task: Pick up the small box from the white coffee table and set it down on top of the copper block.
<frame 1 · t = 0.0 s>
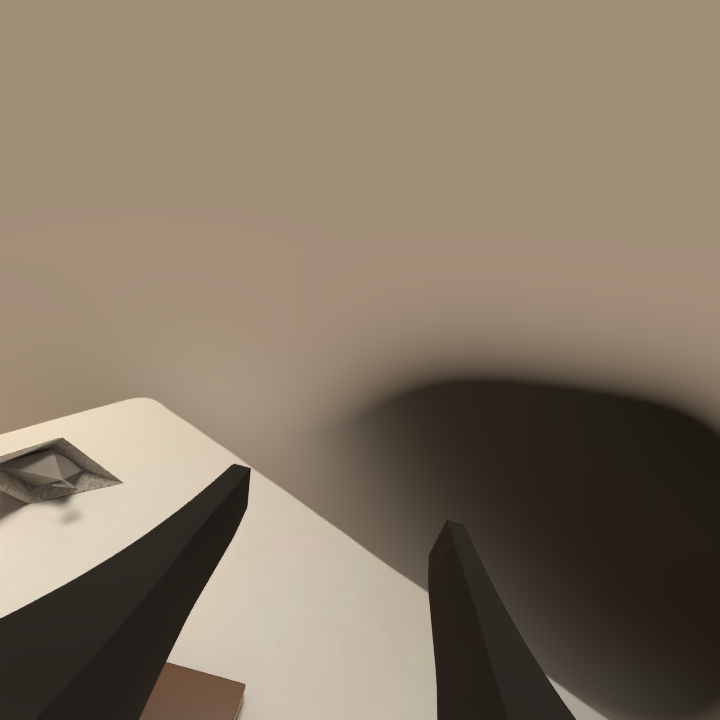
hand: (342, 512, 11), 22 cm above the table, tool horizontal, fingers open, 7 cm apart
paper boat: (48, 500, 32), on the table
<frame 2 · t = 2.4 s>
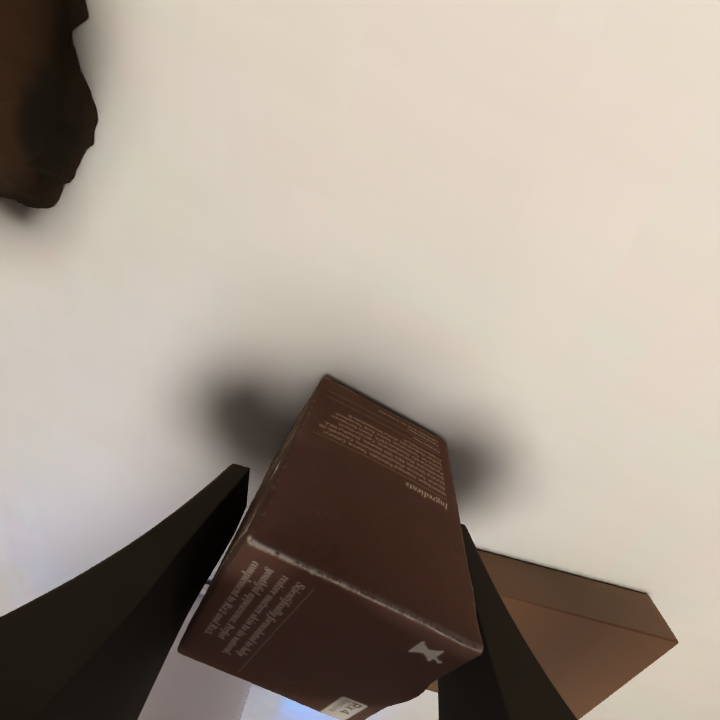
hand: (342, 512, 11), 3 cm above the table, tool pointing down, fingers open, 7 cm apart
box: (354, 450, 15), on the table, touching gripper
copper block: (508, 620, 18), on the table
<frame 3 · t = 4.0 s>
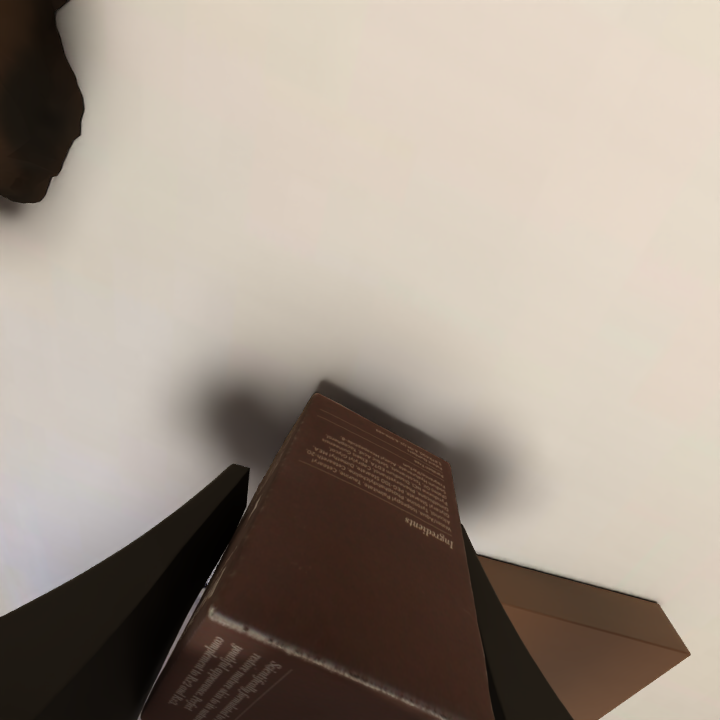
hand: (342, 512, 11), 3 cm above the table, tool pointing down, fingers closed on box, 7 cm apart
box: (350, 469, 13), point 1 cm above the table, touching gripper
copper block: (513, 627, 18), on the table
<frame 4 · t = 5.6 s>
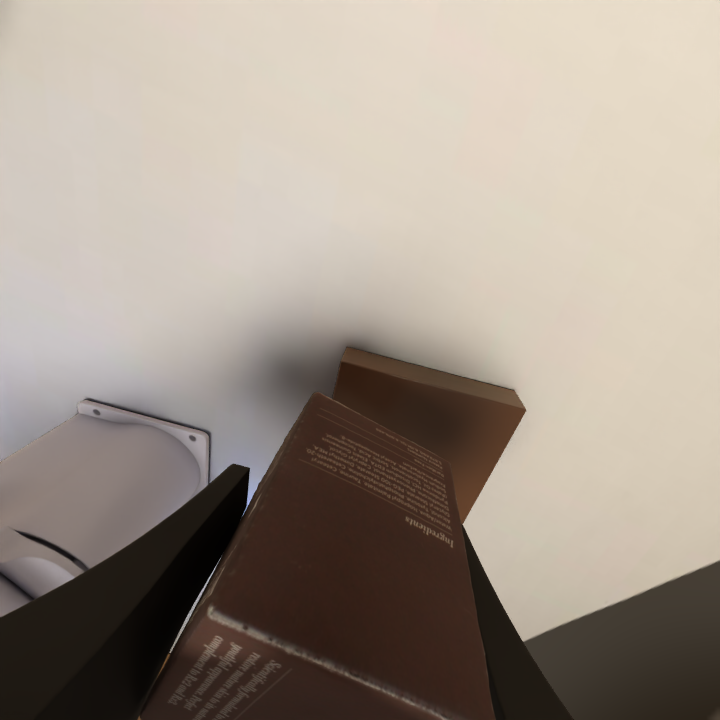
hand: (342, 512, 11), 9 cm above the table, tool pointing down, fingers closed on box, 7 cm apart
box: (350, 469, 13), point 7 cm above the table, touching gripper
copper block: (405, 435, 21), on the table
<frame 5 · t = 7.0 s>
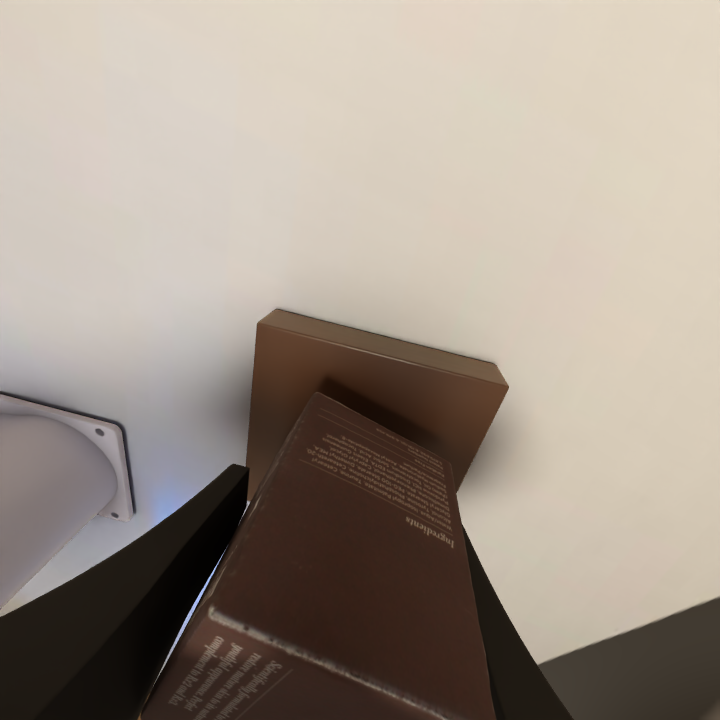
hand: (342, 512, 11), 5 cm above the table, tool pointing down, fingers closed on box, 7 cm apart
box: (350, 469, 13), point 3 cm above the table, touching gripper
copper block: (360, 425, 16), on the table
when the fingers open (4 cm above the table, at t = 8.2 s): box stays where it is, resting on copper block.
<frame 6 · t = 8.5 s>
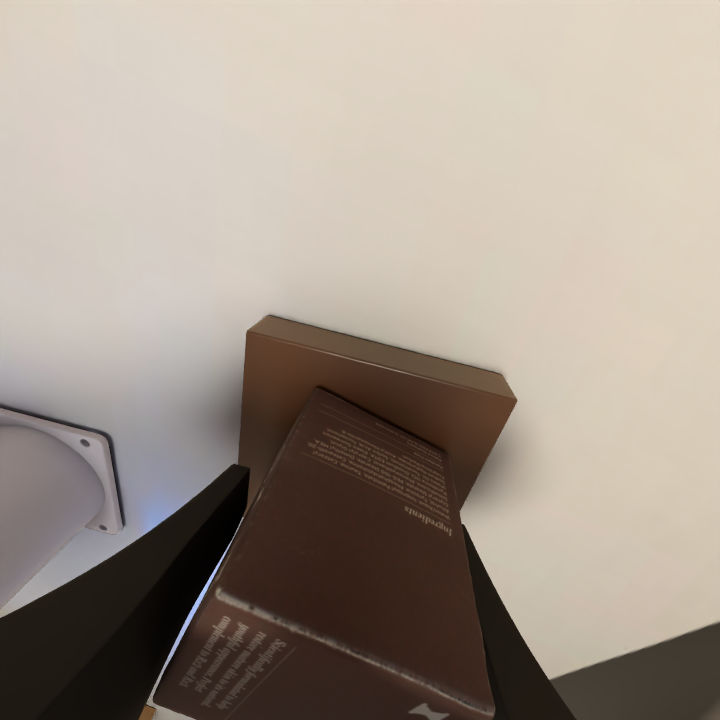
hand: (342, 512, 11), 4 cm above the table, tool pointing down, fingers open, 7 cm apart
box: (351, 463, 14), point 2 cm above the table, touching gripper, copper block
copper block: (358, 437, 15), on the table
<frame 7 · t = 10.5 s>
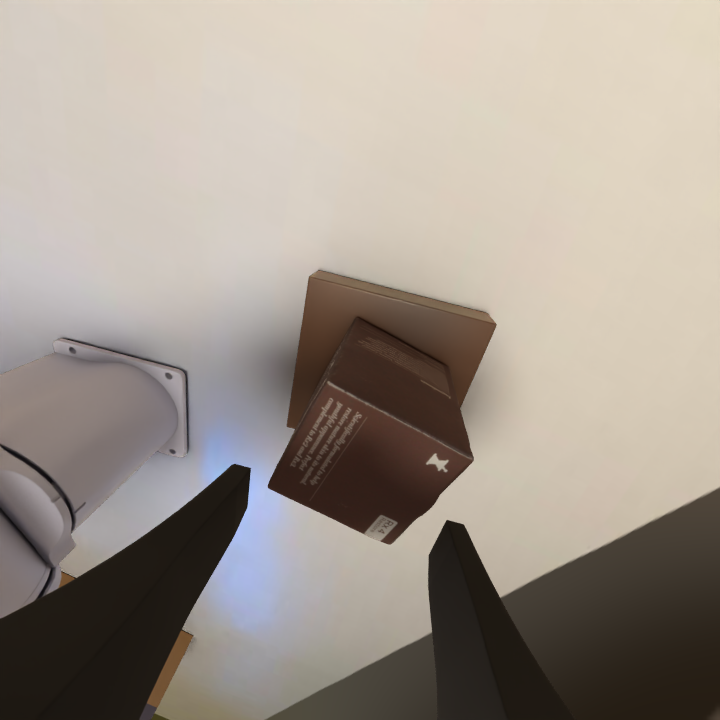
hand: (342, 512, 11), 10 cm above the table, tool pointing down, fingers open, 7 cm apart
box: (378, 380, 19), point 2 cm above the table, touching copper block
copper block: (381, 367, 20), on the table
toy building blocks: (110, 619, 40), on the table
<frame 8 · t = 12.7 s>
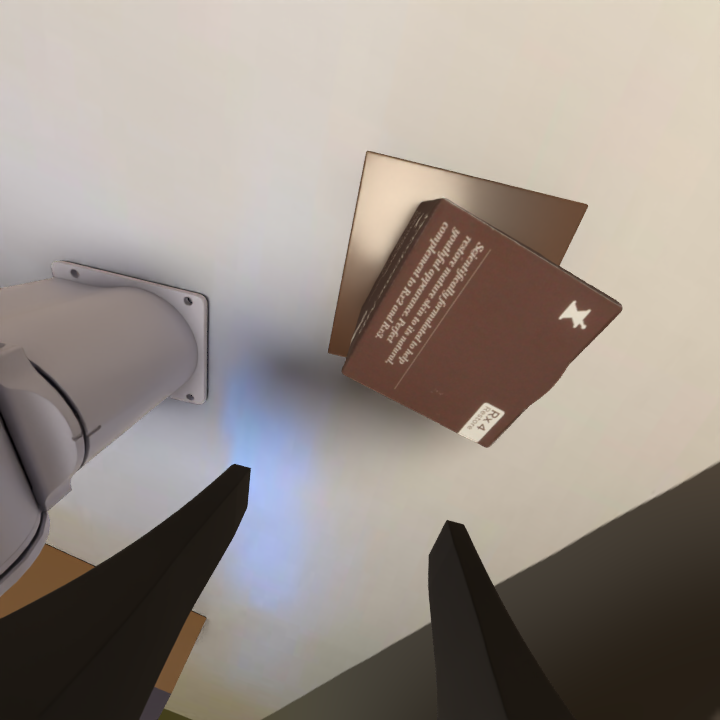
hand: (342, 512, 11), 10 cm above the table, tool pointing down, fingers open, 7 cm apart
box: (439, 287, 16), point 2 cm above the table, touching copper block
copper block: (436, 281, 18), on the table
toy building blocks: (114, 604, 37), on the table
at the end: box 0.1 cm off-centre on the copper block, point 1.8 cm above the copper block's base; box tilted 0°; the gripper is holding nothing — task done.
